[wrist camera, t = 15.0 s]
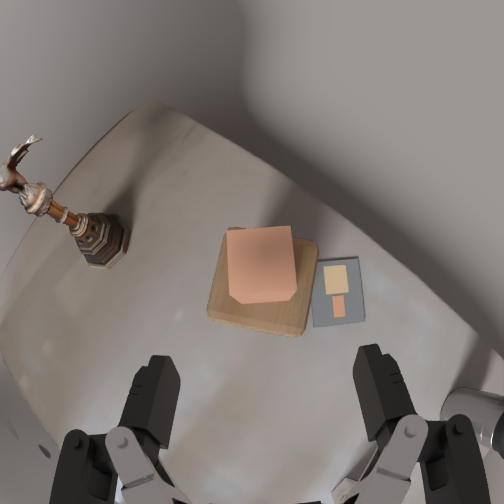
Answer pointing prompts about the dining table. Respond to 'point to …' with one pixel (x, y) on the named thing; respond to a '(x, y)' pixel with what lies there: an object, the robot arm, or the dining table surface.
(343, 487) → the ink cartridge box
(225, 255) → the wooden block
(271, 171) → the dining table surface
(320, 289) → the tile
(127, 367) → the dining table surface
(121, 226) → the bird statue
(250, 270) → the terracotta block
